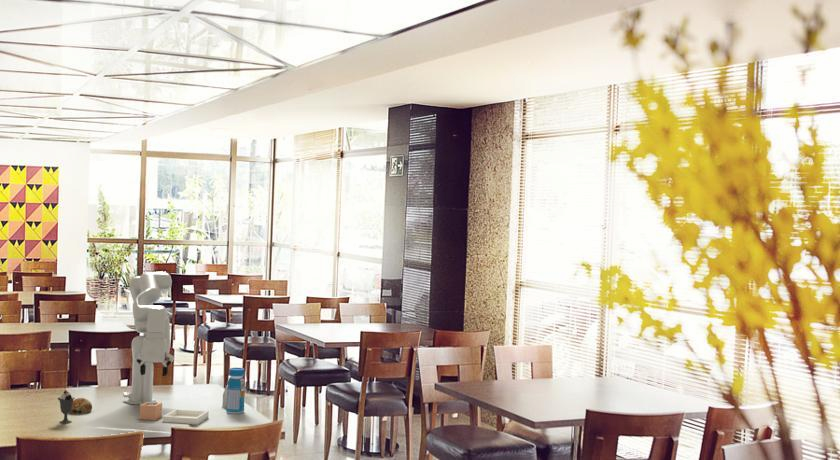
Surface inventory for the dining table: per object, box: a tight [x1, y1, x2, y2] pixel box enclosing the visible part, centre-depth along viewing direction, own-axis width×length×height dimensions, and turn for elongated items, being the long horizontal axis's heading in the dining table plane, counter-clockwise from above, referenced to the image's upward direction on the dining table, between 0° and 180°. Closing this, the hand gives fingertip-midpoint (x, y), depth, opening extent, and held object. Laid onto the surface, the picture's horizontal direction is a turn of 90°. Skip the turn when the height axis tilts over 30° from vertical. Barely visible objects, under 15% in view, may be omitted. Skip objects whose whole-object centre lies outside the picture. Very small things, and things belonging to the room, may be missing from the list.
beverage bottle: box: [225, 367, 246, 415], centre depth 376 cm, size 8×8×20 cm
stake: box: [134, 402, 163, 422], centre depth 354 cm, size 10×10×7 cm
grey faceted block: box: [221, 385, 228, 409], centre depth 385 cm, size 4×7×10 cm, turn 62°
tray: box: [161, 408, 209, 427], centre depth 355 cm, size 15×15×3 cm
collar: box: [138, 401, 163, 421], centre depth 354 cm, size 7×7×6 cm
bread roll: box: [68, 397, 93, 415], centre depth 363 cm, size 10×10×8 cm
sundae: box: [57, 385, 76, 425], centre depth 343 cm, size 7×7×15 cm
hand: (153, 375), depth 355 cm, fingers open, 9 cm apart
